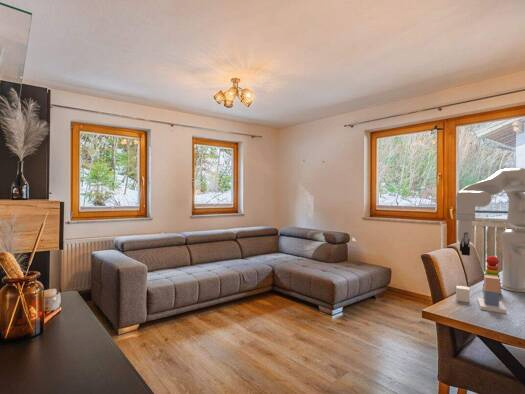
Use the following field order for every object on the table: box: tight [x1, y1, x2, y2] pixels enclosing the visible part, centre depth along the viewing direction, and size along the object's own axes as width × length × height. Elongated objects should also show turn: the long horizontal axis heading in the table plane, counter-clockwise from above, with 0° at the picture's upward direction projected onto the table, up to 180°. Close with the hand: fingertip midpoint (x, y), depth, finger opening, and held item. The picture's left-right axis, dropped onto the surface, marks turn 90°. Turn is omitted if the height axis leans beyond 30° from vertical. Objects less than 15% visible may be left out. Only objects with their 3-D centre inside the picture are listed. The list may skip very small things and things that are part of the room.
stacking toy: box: [482, 255, 502, 295], centre depth 158 cm, size 8×8×19 cm
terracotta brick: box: [483, 274, 501, 293], centre depth 138 cm, size 5×5×6 cm
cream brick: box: [455, 284, 471, 303], centre depth 147 cm, size 5×5×6 cm
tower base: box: [476, 289, 507, 314], centre depth 138 cm, size 12×9×8 cm
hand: (464, 253), depth 146 cm, fingers open, 9 cm apart
